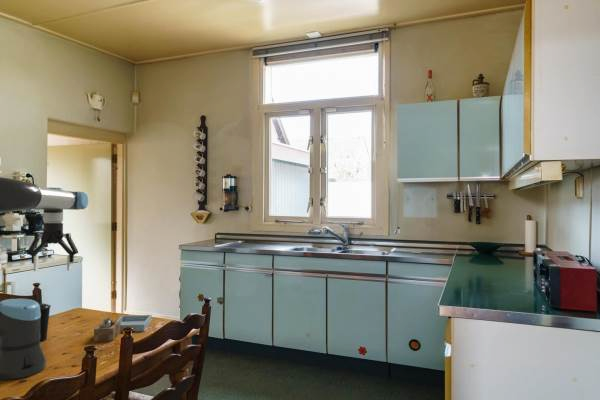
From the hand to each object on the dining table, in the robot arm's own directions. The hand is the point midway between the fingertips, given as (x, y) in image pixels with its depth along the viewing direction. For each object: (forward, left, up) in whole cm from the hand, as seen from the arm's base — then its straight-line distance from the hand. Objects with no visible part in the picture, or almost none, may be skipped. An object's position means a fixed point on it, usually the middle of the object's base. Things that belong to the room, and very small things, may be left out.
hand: (52, 270), depth 185 cm
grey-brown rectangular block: (-14, -28, -26) cm, 40 cm away
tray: (0, -34, -26) cm, 43 cm away
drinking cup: (-15, -2, -26) cm, 30 cm away
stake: (-15, -28, -26) cm, 41 cm away
